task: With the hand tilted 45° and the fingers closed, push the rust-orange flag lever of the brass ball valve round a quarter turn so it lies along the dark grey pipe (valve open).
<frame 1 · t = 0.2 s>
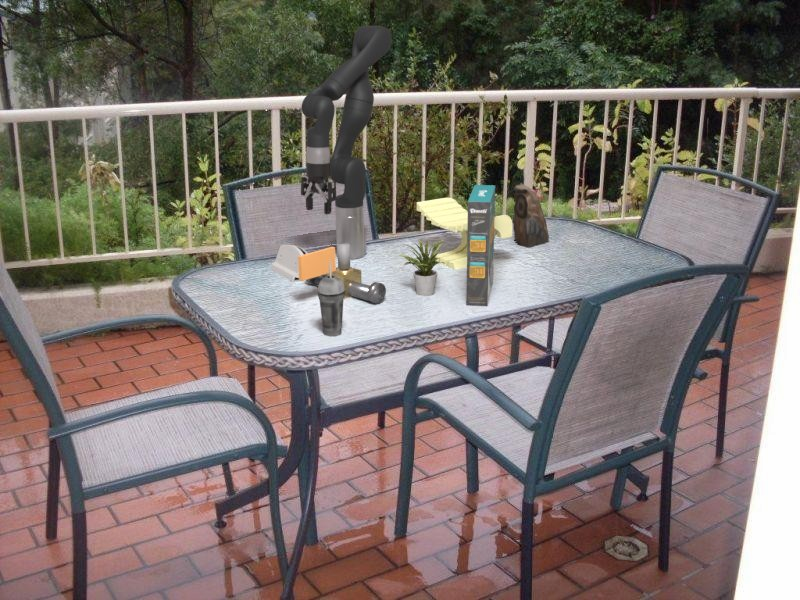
hand: (318, 211, 294), 18 cm above the table, tool pointing down, fingers open, 8 cm apart
valve: (344, 293, 273), on the table
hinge: (291, 274, 292), on the table
house plant: (426, 292, 274), on the table
slatted curved stool: (462, 261, 304), on the table
cake mix box: (479, 294, 272), on the table
owl: (530, 243, 324), on the table
beverage cup: (332, 333, 242), on the table
lever: (324, 261, 264), point 11 cm above the table, hinge at 0.0°
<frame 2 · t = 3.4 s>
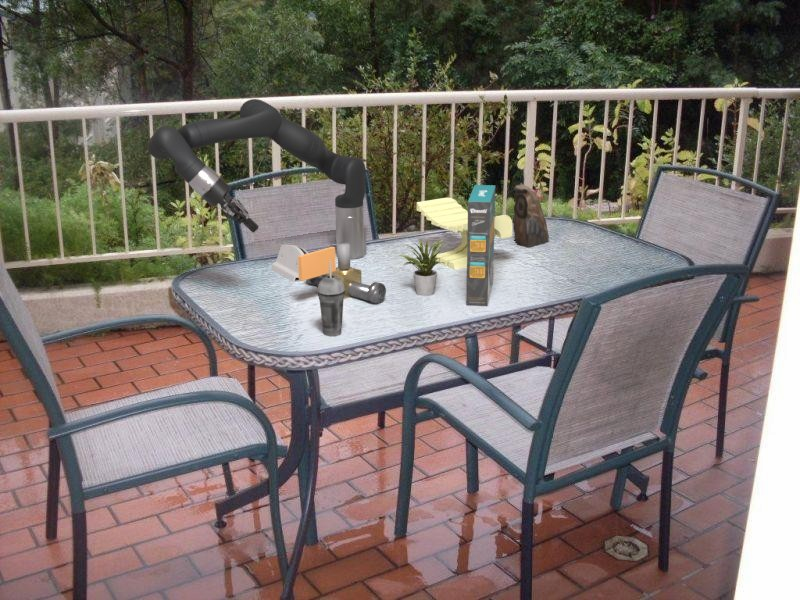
hand: (256, 229, 257), 22 cm above the table, tool tilted 45°, fingers closed
nothing on the table moved.
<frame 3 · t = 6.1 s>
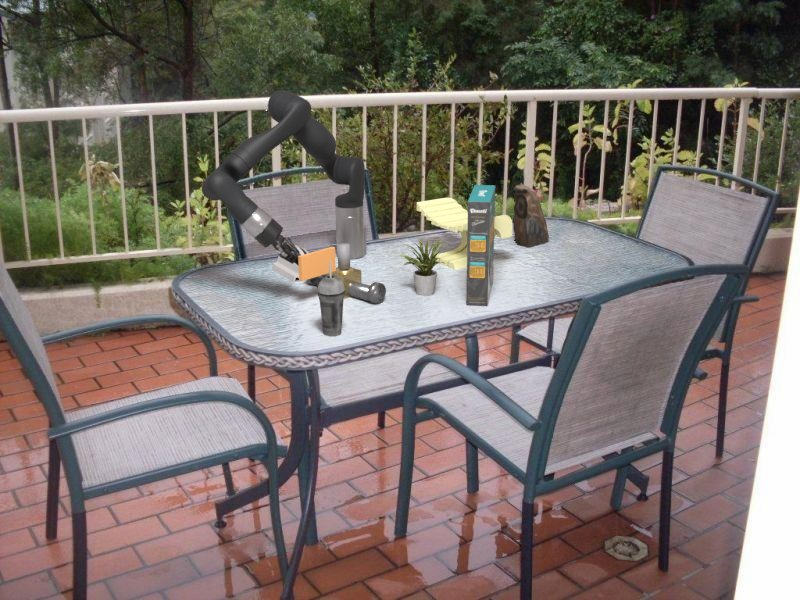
hand: (307, 268, 261), 10 cm above the table, tool tilted 45°, fingers closed
lever: (324, 261, 264), point 11 cm above the table, hinge at 0.2°, touching gripper
everything else where it was.
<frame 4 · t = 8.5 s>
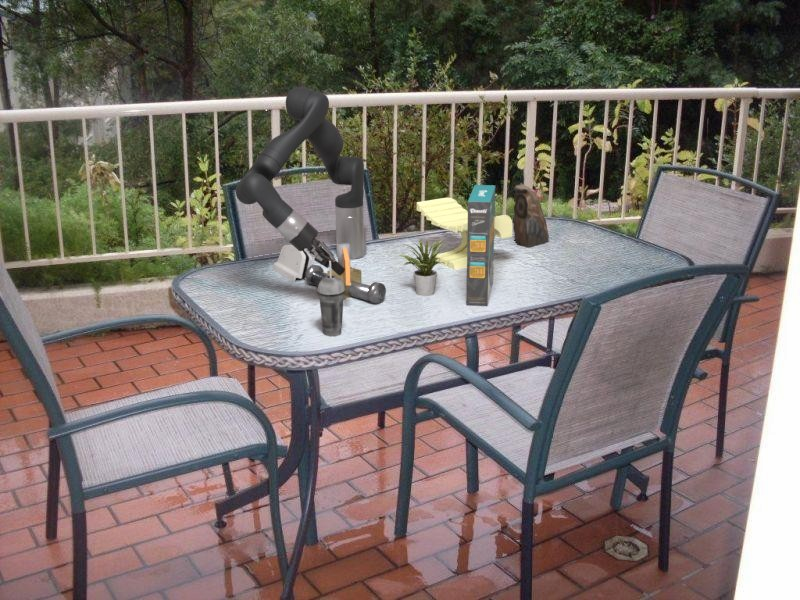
hand: (342, 272, 258), 10 cm above the table, tool tilted 45°, fingers closed
lever: (345, 263, 262), point 11 cm above the table, hinge at 49.4°, touching gripper
everything else where it was.
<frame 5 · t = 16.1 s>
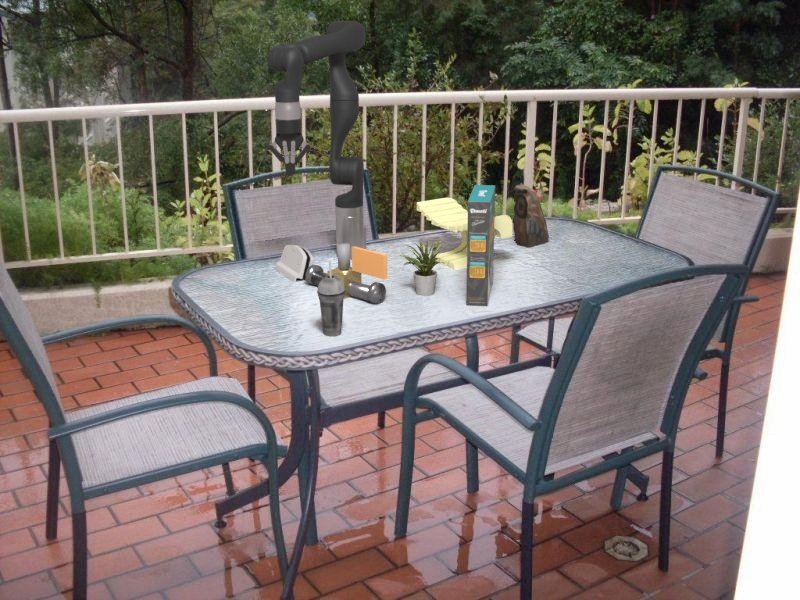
hand: (290, 175, 278), 32 cm above the table, tool pointing down, fingers closed
lever: (362, 260, 264), point 11 cm above the table, hinge at 89.0°
at the end: lever at +89° (first picture: +0°); lever touching nothing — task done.
